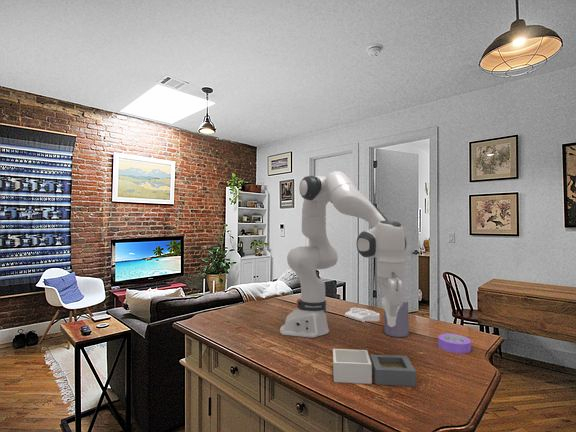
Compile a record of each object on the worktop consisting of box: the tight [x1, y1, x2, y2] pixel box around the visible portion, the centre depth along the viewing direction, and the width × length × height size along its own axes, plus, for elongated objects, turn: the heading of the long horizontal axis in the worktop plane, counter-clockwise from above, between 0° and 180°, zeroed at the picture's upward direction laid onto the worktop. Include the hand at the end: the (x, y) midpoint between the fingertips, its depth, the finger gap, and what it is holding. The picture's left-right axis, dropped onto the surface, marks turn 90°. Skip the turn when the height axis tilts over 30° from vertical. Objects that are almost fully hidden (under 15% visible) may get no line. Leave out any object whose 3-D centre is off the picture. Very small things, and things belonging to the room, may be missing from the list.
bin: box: [332, 348, 373, 385], centre depth 110 cm, size 12×12×6 cm
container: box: [383, 298, 410, 338], centre depth 150 cm, size 10×10×15 cm
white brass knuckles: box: [344, 307, 381, 323], centre depth 176 cm, size 3×18×15 cm
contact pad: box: [380, 363, 403, 368], centre depth 108 cm, size 7×7×1 cm
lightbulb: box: [381, 295, 400, 327], centre depth 109 cm, size 6×6×11 cm
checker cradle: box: [370, 354, 417, 387], centre depth 108 cm, size 12×12×4 cm
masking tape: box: [437, 333, 472, 354], centre depth 133 cm, size 12×12×4 cm
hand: (390, 313), depth 109 cm, fingers closed on lightbulb, 5 cm apart
